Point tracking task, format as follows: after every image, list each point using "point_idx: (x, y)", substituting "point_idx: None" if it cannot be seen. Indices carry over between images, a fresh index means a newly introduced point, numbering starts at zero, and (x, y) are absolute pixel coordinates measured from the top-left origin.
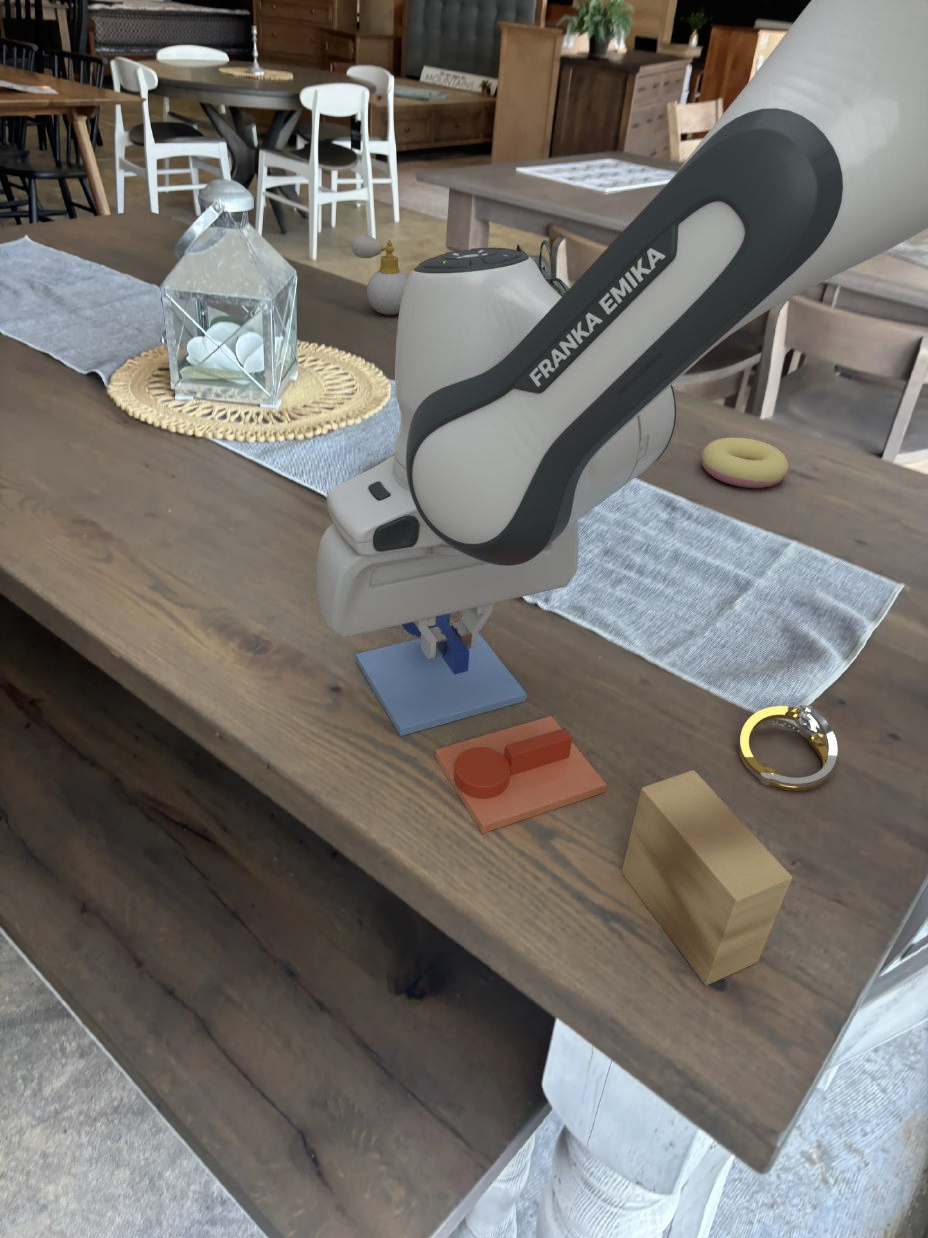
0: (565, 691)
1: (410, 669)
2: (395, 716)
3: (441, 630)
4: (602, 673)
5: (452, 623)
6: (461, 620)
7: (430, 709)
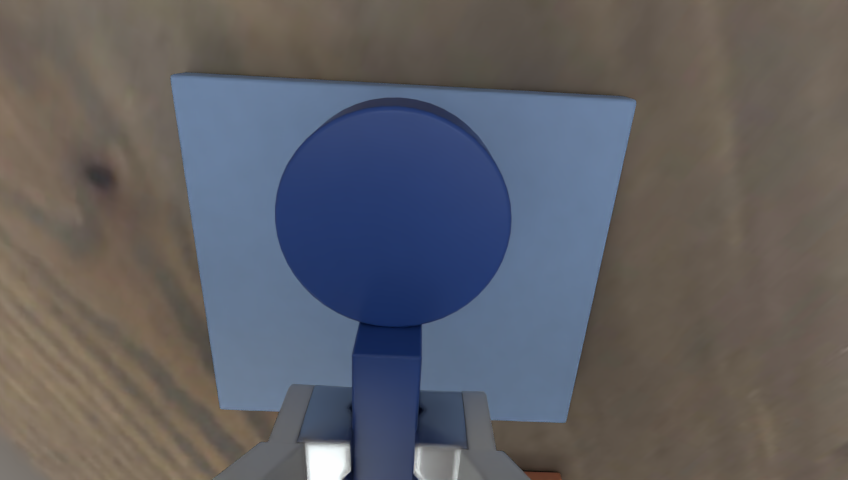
0: (666, 411)
1: None
2: (219, 373)
3: (365, 437)
4: (796, 396)
5: (419, 446)
6: (462, 454)
7: (313, 383)
